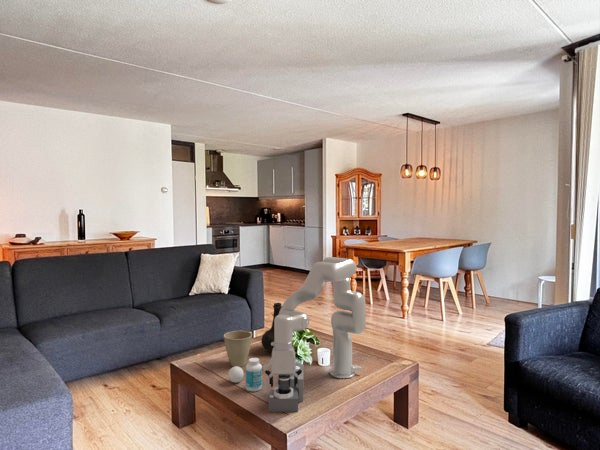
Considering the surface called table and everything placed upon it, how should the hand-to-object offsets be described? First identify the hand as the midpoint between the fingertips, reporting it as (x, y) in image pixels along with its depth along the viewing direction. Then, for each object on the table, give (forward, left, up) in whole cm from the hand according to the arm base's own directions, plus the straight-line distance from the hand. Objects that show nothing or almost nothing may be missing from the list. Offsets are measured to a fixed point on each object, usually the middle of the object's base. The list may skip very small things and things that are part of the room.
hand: (283, 385), depth 161 cm
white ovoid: (+24, -25, -9) cm, 36 cm away
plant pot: (+25, -45, -9) cm, 52 cm away
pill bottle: (+14, -17, -9) cm, 24 cm away
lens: (0, 0, -4) cm, 4 cm away
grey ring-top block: (0, 0, -9) cm, 9 cm away
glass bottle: (+5, -64, -9) cm, 65 cm away
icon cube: (-4, -9, -9) cm, 14 cm away
